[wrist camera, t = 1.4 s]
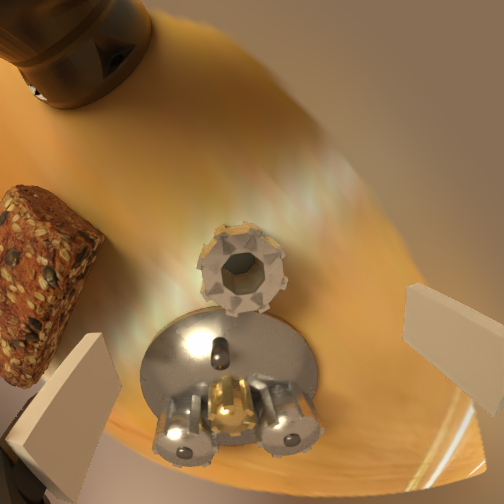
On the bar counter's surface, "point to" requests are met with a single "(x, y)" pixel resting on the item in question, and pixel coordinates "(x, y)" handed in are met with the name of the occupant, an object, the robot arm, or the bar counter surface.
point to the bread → (39, 278)
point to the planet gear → (248, 284)
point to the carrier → (230, 386)
